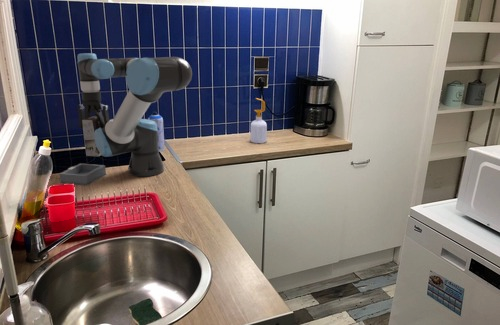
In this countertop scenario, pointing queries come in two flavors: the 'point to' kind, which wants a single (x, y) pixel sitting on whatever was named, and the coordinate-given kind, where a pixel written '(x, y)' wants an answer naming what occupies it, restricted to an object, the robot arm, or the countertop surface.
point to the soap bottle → (259, 127)
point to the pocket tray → (83, 174)
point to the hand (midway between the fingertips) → (97, 143)
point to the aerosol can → (159, 129)
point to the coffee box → (91, 135)
